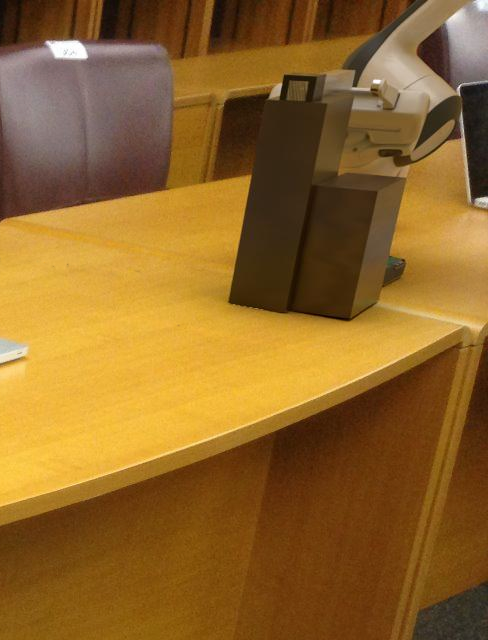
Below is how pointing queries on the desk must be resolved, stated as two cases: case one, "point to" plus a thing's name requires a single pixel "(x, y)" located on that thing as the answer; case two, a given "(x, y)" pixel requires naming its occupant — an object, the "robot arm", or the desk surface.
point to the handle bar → (315, 85)
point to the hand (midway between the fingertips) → (339, 82)
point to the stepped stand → (312, 216)
